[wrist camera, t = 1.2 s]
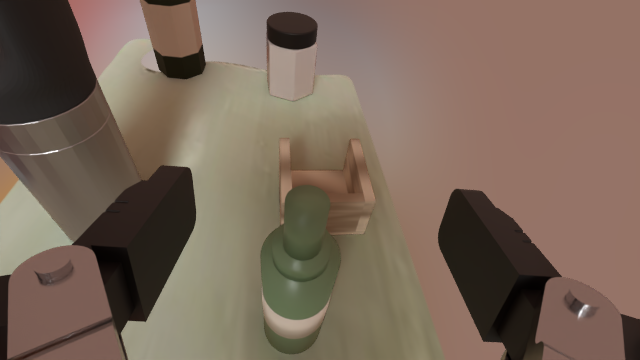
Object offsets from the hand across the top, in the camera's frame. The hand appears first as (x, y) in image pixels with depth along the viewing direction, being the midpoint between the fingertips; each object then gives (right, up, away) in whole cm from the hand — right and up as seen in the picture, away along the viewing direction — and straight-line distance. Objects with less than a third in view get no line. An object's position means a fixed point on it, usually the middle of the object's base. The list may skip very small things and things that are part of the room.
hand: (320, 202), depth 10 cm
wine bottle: (-26, +22, +52) cm, 62 cm away
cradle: (0, -2, +34) cm, 34 cm away
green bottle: (-3, -14, +23) cm, 27 cm away
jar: (-6, +18, +52) cm, 55 cm away
